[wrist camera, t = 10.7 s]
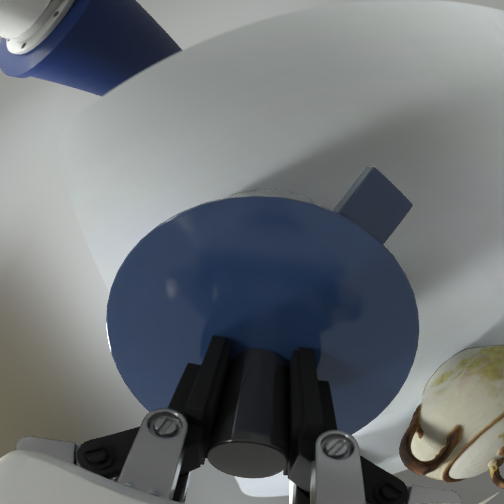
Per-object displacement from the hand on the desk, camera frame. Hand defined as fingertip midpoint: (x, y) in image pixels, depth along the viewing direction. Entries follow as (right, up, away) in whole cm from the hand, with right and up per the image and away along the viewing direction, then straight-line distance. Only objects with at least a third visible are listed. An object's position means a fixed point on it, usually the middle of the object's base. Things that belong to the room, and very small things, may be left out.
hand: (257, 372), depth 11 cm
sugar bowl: (+21, -8, +11) cm, 25 cm away
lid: (0, 0, +1) cm, 1 cm away
